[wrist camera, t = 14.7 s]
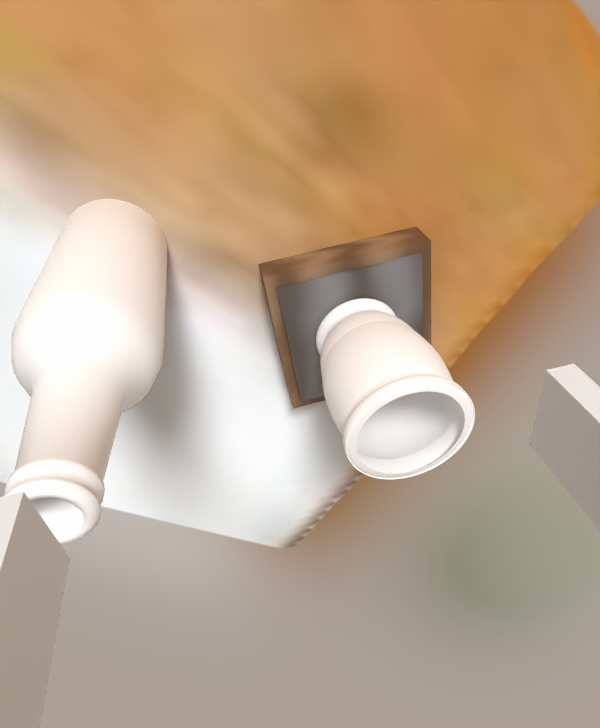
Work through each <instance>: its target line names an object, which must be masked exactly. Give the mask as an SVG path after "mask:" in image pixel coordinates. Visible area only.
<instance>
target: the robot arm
mask: <svg viewBox="0 0 600 728" xmlns="http://www.w3.org/2000/svg"><path fill="white" fill-rule="evenodd" d="M530 446H531V447H532V448H533V449H534V451H535V452H536V453H537V454H538V456H539V457H540V458H541V459H542V461H543V462H544V463H545V464H546V466H547V467H548V468H549V469H550V471H551V472H552V473H553V474H554V476H555V477H556V478H557V479H558V481H559V482H560V483H561V484H562V486H563V487H564V488H565V489H566V491H567V492H568V493H569V494H570V496H571V497H572V498H573V499H574V501H575V502H576V503H577V504H578V505H579V507H580V508H581V509H582V510H583V512H584V513H585V514H586V515H587V517H588V518H589V519H590V520H591V522H592V523H593V524H594V525H595V526H596V528H597V529H598V530H599V532H600V387H599V386H598V385H597V384H596V383H594V382H593V381H592V380H591V379H590V378H589V377H588V376H587V375H586V374H585V373H584V372H582V371H581V370H580V369H579V368H578V367H577V366H576V365H575V364H571V365H566V366H562V367H558V368H553V369H549V370H546V374H545V379H544V383H543V387H542V392H541V396H540V401H539V405H538V410H537V414H536V418H535V423H534V427H533V432H532V436H531V440H530ZM69 561H70V557H69V556H68V554H67V553H66V551H65V550H64V549H63V547H62V546H61V544H60V543H59V541H58V540H57V539H56V537H55V536H54V534H53V533H52V531H51V530H50V529H49V527H48V526H47V524H46V523H45V521H44V520H43V518H42V517H41V516H40V514H39V513H38V511H37V510H36V508H35V507H34V506H33V504H32V503H31V501H30V500H29V498H28V497H27V496H26V494H25V493H24V492H20V493H16V494H11V495H7V496H3V497H0V728H39V727H40V721H41V716H42V710H43V705H44V699H45V694H46V688H47V683H48V677H49V671H50V666H51V660H52V655H53V649H54V644H55V638H56V632H57V627H58V621H59V616H60V610H61V605H62V599H63V594H64V588H65V583H66V577H67V572H68V566H69Z"/></svg>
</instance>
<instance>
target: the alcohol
mask: <svg viewBox="0 0 600 728" xmlns="http://www.w3.org/2000/svg"><path fill="white" fill-rule="evenodd" d="M166 274H167V244H166V240H165V237H164V235H163V232H162V230H161V228H160V227H159V225H158V224H157V223H156V221H155V220H154V219H153V218H152V217H151V216H150V215H149V214H148V213H147V212H145V211H144V210H142V209H141V208H139V207H138V206H135V205H133V204H131V203H128V202H125V201H121V200H117V199H101V200H94V201H91V202H89V203H86V204H84V205H82V206H81V207H79V208H77V209H76V210H75V211H74V212H73V213H72V214H71V215H70V216H69V218H68V219H67V221H66V223H65V224H64V226H63V228H62V230H61V232H60V234H59V236H58V238H57V240H56V243H55V245H54V247H53V249H52V251H51V253H50V255H49V257H48V259H47V261H46V263H45V265H44V267H43V269H42V271H41V273H40V275H39V277H38V279H37V281H36V283H35V285H34V287H33V289H32V291H31V293H30V295H29V297H28V299H27V301H26V303H25V305H24V307H23V309H22V311H21V313H20V315H19V317H18V319H17V321H16V323H15V326H14V329H13V333H12V365H13V369H14V373H15V375H16V377H17V379H18V381H19V383H20V384H21V385H22V387H23V388H24V389H25V390H26V392H27V393H28V394H29V395H30V396H31V400H30V405H29V409H28V413H27V418H26V422H25V427H24V431H23V436H22V440H21V445H20V449H19V453H18V458H17V462H16V467H15V471H14V472H13V473H12V474H11V476H10V477H9V479H8V482H7V485H6V488H5V496H7V495H11V494H16V493H20V492H24V493H25V494H26V496H27V497H28V498H29V500H30V501H31V503H32V504H33V506H34V507H35V508H36V510H37V511H38V513H39V514H40V516H41V517H42V518H43V520H44V521H45V523H46V524H47V526H48V527H49V529H50V530H51V531H52V533H53V534H54V536H55V537H56V539H57V540H58V541H59V543H60V544H61V543H66V542H70V541H72V540H75V539H78V538H80V537H82V536H84V535H86V534H88V533H89V532H90V531H92V530H93V529H94V528H95V526H96V525H97V524H98V522H99V520H100V515H101V503H102V501H103V496H104V490H105V489H104V483H103V480H104V476H105V472H106V468H107V464H108V461H109V457H110V453H111V449H112V445H113V442H114V438H115V434H116V430H117V426H118V422H119V419H120V415H121V413H122V412H124V411H125V410H127V409H129V408H131V407H133V406H135V405H136V404H137V403H138V402H140V401H141V400H142V399H143V398H144V397H145V396H146V395H147V393H148V392H149V391H150V390H151V388H152V386H153V384H154V382H155V380H156V378H157V376H158V373H159V371H160V369H161V366H162V361H163V354H164V327H165V300H166Z"/></svg>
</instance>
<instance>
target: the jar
mask: <svg viewBox="0 0 600 728" xmlns="http://www.w3.org/2000/svg"><path fill="white" fill-rule="evenodd" d="M316 346H317V350H318V352H319V354H320V356H321V359H320V365H321V374H322V382H323V390H324V396H325V400H326V403H327V407H328V409H329V412H330V414H331V417H332V419H333V421H334V423H335V425H336V426H337V428H338V430H339V431H340V433H341V434H342V436H343V447H344V451H345V454H346V456H347V457H348V459H349V461H350V463H351V464H352V465H353V466H354V467H355V468H356V469H357V470H358V471H360V472H361V473H363V474H365V475H367V476H370V477H374V478H379V479H401V478H407V477H411V476H415V475H418V474H421V473H424V472H426V471H428V470H430V469H433V468H434V467H436V466H438V465H440V464H441V463H443V462H444V461H446V460H447V459H448V458H450V457H451V456H452V455H453V454H454V453H455V452H456V451H458V449H459V448H460V447H461V446H462V445H463V443H464V442H465V441H466V440H467V438H468V436H469V435H470V433H471V430H472V428H473V425H474V420H475V409H474V405H473V402H472V400H471V398H470V397H469V396H468V394H467V393H466V392H465V391H464V389H463V388H462V387H460V386H459V385H458V384H457V383H455V382H453V380H452V377H451V375H450V373H449V371H448V369H447V367H446V365H445V364H444V362H443V360H442V359H441V357H440V356H439V354H438V353H437V352H436V351H435V349H434V348H433V347H432V346H431V345H430V344H429V343H428V342H427V341H426V340H425V339H424V338H423V337H422V336H421V335H420V334H418V333H417V332H416V331H414V330H413V329H412V328H411V327H410V326H409V325H408V324H406V323H405V322H404V321H402V320H401V319H399V318H397V317H396V315H395V313H394V312H393V310H392V309H391V308H390V307H389V306H388V305H386V304H385V303H383V302H381V301H378V300H375V299H369V298H361V299H354V300H350V301H347V302H345V303H343V304H341V305H339V306H337V307H336V308H334V309H333V310H332V311H331V312H329V313H328V314H327V316H326V317H325V318H324V319H323V321H322V322H321V324H320V326H319V328H318V331H317V335H316Z"/></svg>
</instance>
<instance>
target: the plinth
mask: <svg viewBox="0 0 600 728" xmlns="http://www.w3.org/2000/svg"><path fill="white" fill-rule="evenodd" d="M259 268H260V272H261V276H262V281H263V285H264V289H265V293H266V298H267V302H268V306H269V311H270V315H271V319H272V324H273V328H274V332H275V337H276V341H277V345H278V350H279V354H280V358H281V363H282V367H283V371H284V375H285V380H286V384H287V388H288V392H289V395H290V399H291V402H292V406H293V408H296V407H300V406H304V405H308V404H312V403H316V402H320V401H323V400H325V396H324V390H323V382H322V374H321V365H320V359H321V356H320V354H319V352H318V350H317V346H316V335H317V331H318V328H319V326H320V324H321V322H322V321H323V319H324V318H325V317H326V316H327V314H328V313H329V312H331V311H332V310H333V309H334V308H336V307H337V306H339V305H341V304H343V303H345V302H347V301H350V300H354V299H361V298H369V299H375V300H378V301H381V302H383V303H385V304H386V305H388V306H389V307H390V308H391V309H392V310H393V312H394V313H395V315H396V317H397V318H399V319H401V320H402V321H404V322H405V323H406V324H408V325H409V326H410V327H411V328H412V329H413V330H414V331H416V332H417V333H418V334H420V335H421V336H422V337H423V338H424V339H425V340H426V341H427V342H428V343H429V344H430V345H431V240H430V239H429V238H428V237H427V236H425V235H424V234H423V233H422V232H421V231H420V230H419V229H418V228H417V227H413V228H409V229H404V230H400V231H396V232H392V233H388V234H383V235H379V236H375V237H371V238H367V239H362V240H358V241H354V242H350V243H346V244H341V245H337V246H333V247H329V248H325V249H320V250H316V251H312V252H308V253H304V254H299V255H295V256H291V257H287V258H283V259H278V260H274V261H270V262H266V263H262V264H259Z"/></svg>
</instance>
